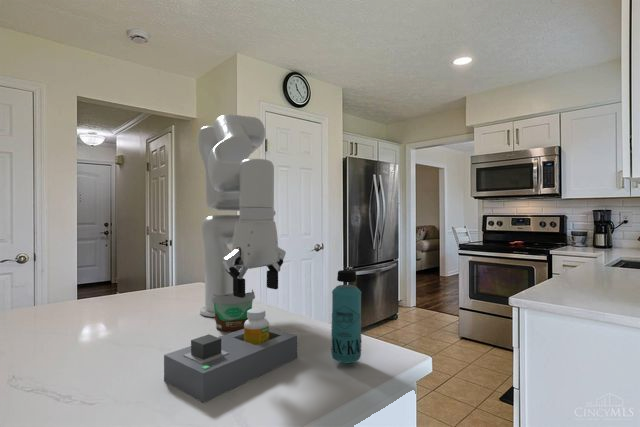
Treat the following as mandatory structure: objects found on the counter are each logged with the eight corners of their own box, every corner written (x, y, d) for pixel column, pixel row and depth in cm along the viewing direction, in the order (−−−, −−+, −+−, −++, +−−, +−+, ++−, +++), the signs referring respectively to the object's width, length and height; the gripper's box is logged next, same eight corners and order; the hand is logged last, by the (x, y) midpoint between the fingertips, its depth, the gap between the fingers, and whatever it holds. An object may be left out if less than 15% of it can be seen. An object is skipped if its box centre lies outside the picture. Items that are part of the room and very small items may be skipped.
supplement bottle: (264, 360, 76) (264, 314, 76) (240, 358, 77) (240, 313, 77) (272, 350, 81) (271, 307, 81) (249, 349, 82) (249, 306, 82)
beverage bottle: (329, 358, 79) (329, 268, 79) (359, 357, 80) (358, 267, 80) (333, 371, 73) (332, 273, 73) (365, 369, 73) (364, 272, 73)
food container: (215, 336, 94) (215, 298, 94) (211, 329, 99) (210, 293, 99) (260, 329, 99) (260, 293, 99) (254, 323, 105) (254, 289, 105)
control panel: (258, 344, 88) (257, 311, 88) (297, 357, 80) (297, 321, 80) (164, 380, 69) (163, 339, 69) (203, 402, 61) (203, 355, 61)
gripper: (273, 214, 88) (272, 283, 89) (213, 215, 75) (213, 297, 75) (295, 215, 84) (295, 288, 84) (236, 216, 70) (236, 303, 70)
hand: (256, 292), depth 79 cm, fingers open, 9 cm apart
